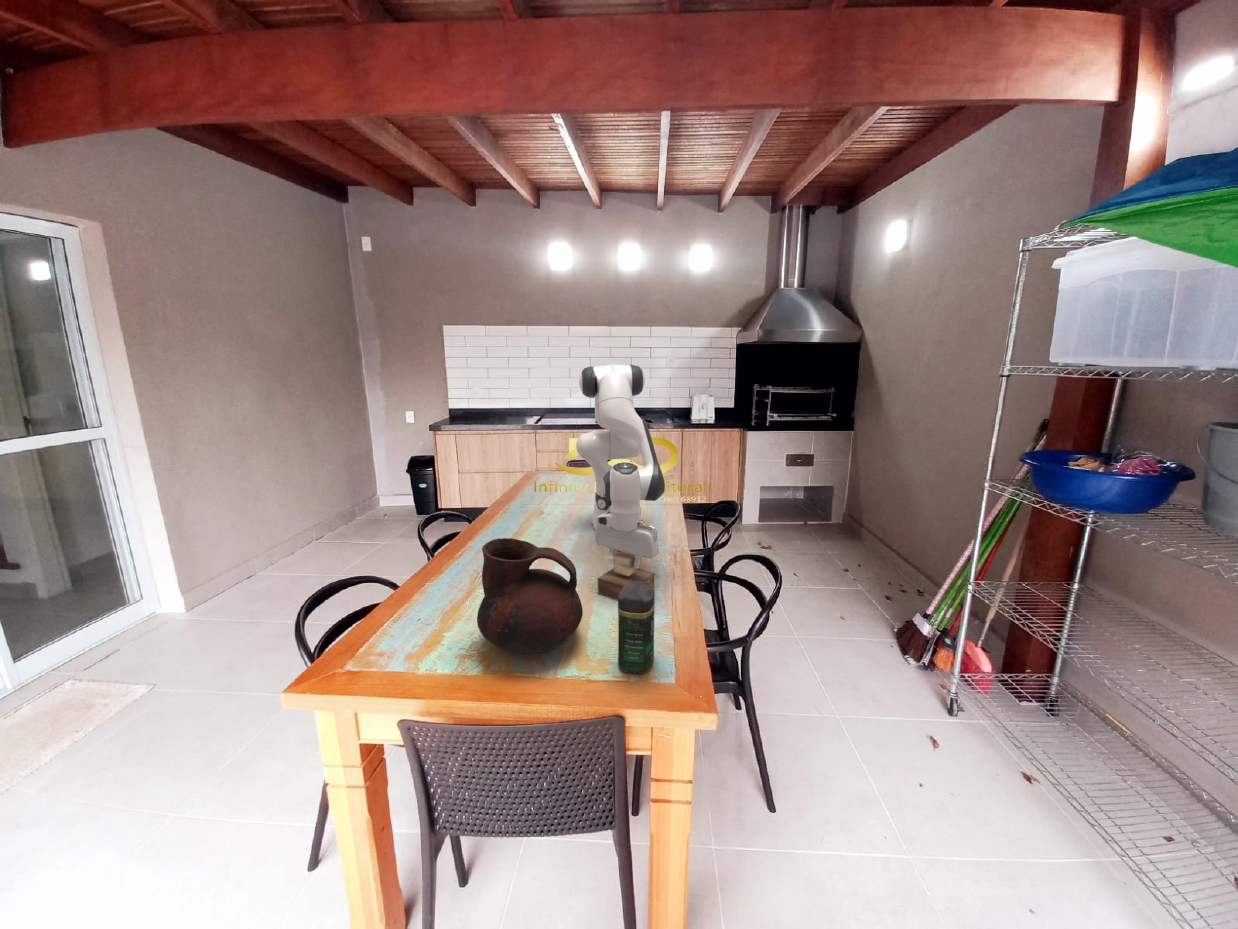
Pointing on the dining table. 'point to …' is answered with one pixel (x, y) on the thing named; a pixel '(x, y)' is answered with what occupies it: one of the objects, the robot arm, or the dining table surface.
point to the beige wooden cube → (624, 563)
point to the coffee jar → (636, 627)
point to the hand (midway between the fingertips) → (626, 564)
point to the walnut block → (621, 581)
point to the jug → (526, 598)
